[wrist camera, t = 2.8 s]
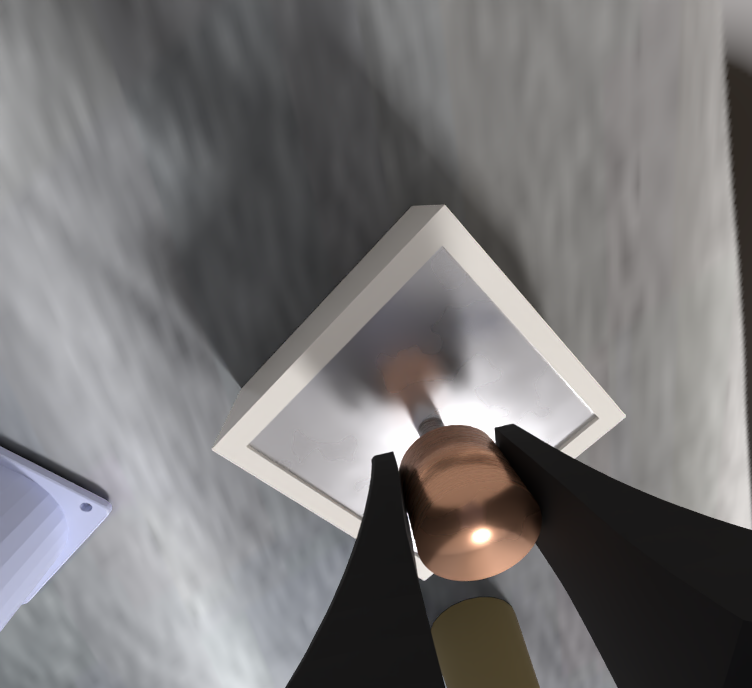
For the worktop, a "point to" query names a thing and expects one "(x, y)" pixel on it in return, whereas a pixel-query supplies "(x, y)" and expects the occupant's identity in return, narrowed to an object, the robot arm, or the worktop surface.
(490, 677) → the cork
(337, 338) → the white shallow open box
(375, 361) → the copper knob lid
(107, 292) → the worktop surface
